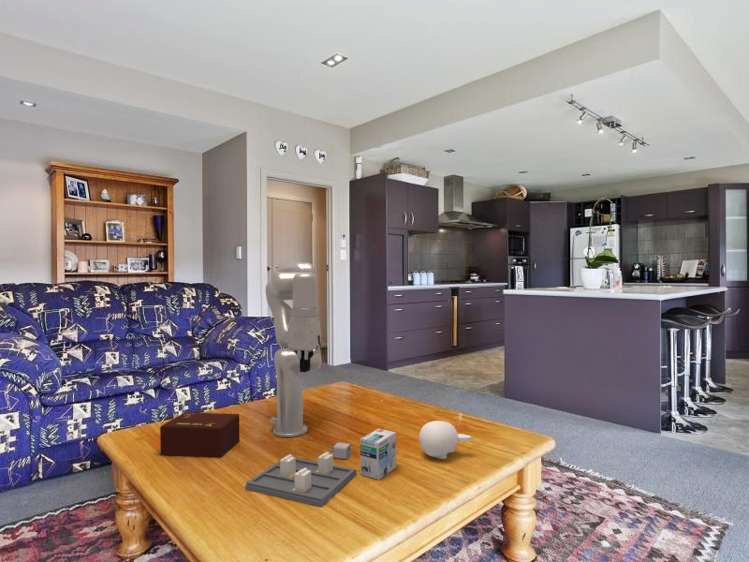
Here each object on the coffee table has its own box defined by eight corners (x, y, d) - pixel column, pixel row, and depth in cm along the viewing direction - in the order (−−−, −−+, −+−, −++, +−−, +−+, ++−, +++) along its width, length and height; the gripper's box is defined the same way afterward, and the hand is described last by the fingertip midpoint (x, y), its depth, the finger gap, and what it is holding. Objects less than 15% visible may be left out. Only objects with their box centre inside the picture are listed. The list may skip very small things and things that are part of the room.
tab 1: (280, 475, 128) (279, 457, 128) (287, 470, 131) (286, 453, 131) (288, 477, 127) (288, 459, 127) (295, 472, 130) (295, 455, 130)
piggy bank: (429, 470, 138) (465, 462, 146) (438, 436, 135) (475, 431, 143) (407, 445, 148) (442, 440, 156) (415, 414, 145) (450, 410, 153)
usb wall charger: (346, 460, 142) (346, 447, 142) (326, 457, 144) (326, 445, 144) (351, 455, 145) (350, 443, 145) (331, 452, 148) (331, 440, 148)
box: (241, 440, 161) (241, 412, 160) (221, 458, 144) (220, 427, 144) (186, 438, 163) (185, 410, 163) (159, 456, 146) (159, 425, 146)
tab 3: (318, 472, 130) (318, 455, 130) (324, 467, 133) (324, 450, 133) (327, 474, 129) (327, 456, 128) (333, 469, 132) (333, 452, 132)
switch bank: (245, 489, 123) (245, 482, 123) (287, 461, 141) (287, 455, 141) (321, 507, 113) (321, 500, 113) (356, 474, 131) (356, 468, 131)
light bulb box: (379, 480, 127) (378, 443, 127) (359, 475, 131) (359, 438, 131) (397, 467, 136) (397, 431, 136) (378, 462, 140) (378, 427, 140)
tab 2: (294, 490, 119) (294, 471, 119) (301, 485, 122) (301, 466, 122) (304, 492, 118) (304, 473, 118) (311, 487, 121) (311, 468, 121)
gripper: (277, 313, 139) (278, 371, 140) (319, 315, 133) (319, 376, 134) (291, 310, 146) (292, 366, 147) (331, 313, 140) (331, 371, 141)
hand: (305, 371), depth 140 cm, fingers closed
